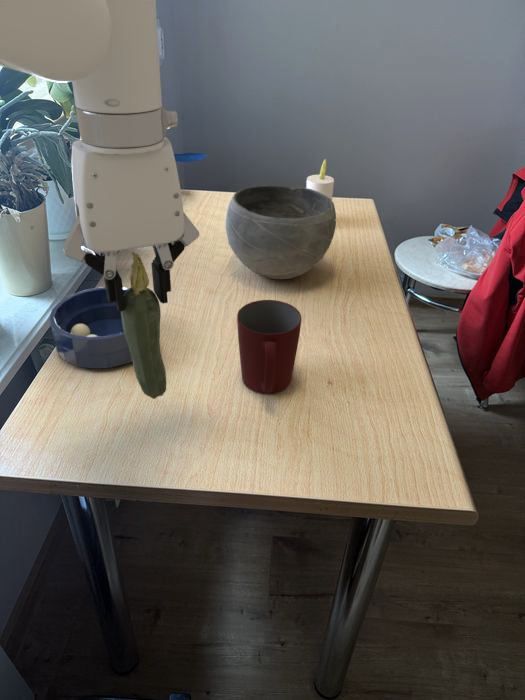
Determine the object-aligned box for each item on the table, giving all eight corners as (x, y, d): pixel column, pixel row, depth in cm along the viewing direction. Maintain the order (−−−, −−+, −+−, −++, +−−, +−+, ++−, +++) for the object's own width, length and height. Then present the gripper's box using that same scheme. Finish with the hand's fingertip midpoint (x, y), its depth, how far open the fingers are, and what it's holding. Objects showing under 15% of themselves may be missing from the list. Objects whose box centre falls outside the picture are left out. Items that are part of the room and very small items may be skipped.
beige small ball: (91, 321, 84) (94, 339, 83) (85, 326, 86) (87, 344, 86) (72, 321, 82) (75, 339, 81) (66, 327, 84) (69, 345, 84)
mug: (299, 413, 74) (305, 348, 67) (236, 412, 73) (235, 347, 67) (294, 360, 83) (299, 300, 77) (237, 360, 83) (237, 299, 76)
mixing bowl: (65, 382, 77) (57, 349, 74) (50, 328, 89) (43, 297, 85) (168, 357, 83) (165, 325, 80) (142, 309, 94) (138, 279, 91)
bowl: (342, 293, 101) (352, 218, 92) (232, 299, 98) (231, 222, 89) (316, 246, 118) (322, 178, 109) (221, 250, 115) (220, 181, 106)
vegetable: (165, 413, 66) (150, 267, 54) (130, 412, 66) (107, 265, 54) (171, 390, 69) (158, 248, 58) (138, 389, 69) (118, 247, 58)
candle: (298, 219, 130) (302, 157, 121) (320, 215, 132) (326, 153, 124) (311, 229, 125) (317, 164, 117) (334, 224, 128) (341, 161, 119)
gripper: (195, 114, 54) (199, 274, 65) (19, 123, 48) (56, 299, 59) (222, 131, 49) (222, 303, 59) (28, 144, 43) (67, 334, 53)
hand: (140, 300), depth 59 cm, fingers closed on vegetable, 4 cm apart
